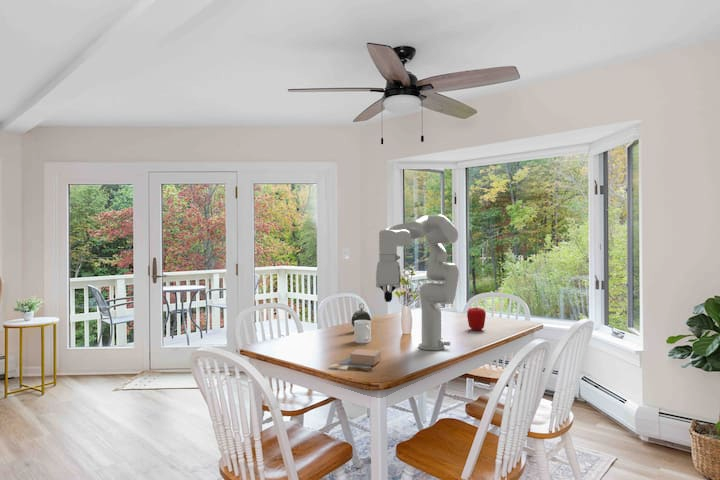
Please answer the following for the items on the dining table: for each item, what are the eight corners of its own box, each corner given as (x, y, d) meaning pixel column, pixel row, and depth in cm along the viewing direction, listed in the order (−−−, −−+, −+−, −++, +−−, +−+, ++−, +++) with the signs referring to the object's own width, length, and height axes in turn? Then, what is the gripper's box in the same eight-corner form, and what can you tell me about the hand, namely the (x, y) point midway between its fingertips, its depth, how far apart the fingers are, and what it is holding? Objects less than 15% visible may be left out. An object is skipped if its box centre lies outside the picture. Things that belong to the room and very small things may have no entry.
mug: (361, 345, 229) (361, 324, 228) (351, 341, 239) (351, 320, 239) (376, 344, 232) (376, 323, 232) (366, 339, 243) (366, 319, 243)
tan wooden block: (380, 350, 201) (357, 348, 205) (374, 355, 192) (350, 353, 196) (380, 359, 201) (357, 357, 205) (374, 365, 192) (350, 363, 196)
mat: (379, 359, 204) (379, 358, 204) (370, 367, 191) (370, 366, 191) (350, 356, 208) (350, 355, 208) (338, 364, 195) (338, 363, 195)
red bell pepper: (463, 329, 268) (463, 306, 268) (477, 327, 273) (477, 304, 273) (475, 332, 259) (475, 308, 259) (489, 330, 263) (489, 307, 263)
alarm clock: (367, 329, 268) (367, 302, 268) (372, 331, 263) (372, 303, 263) (351, 331, 262) (350, 303, 262) (355, 333, 258) (355, 304, 257)
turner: (373, 369, 188) (373, 366, 188) (369, 372, 184) (369, 369, 184) (333, 365, 194) (333, 362, 194) (328, 368, 190) (328, 365, 190)
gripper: (407, 258, 196) (407, 301, 196) (373, 258, 201) (374, 299, 201) (402, 259, 189) (403, 303, 189) (368, 258, 194) (368, 302, 194)
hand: (388, 301), depth 195 cm, fingers closed
